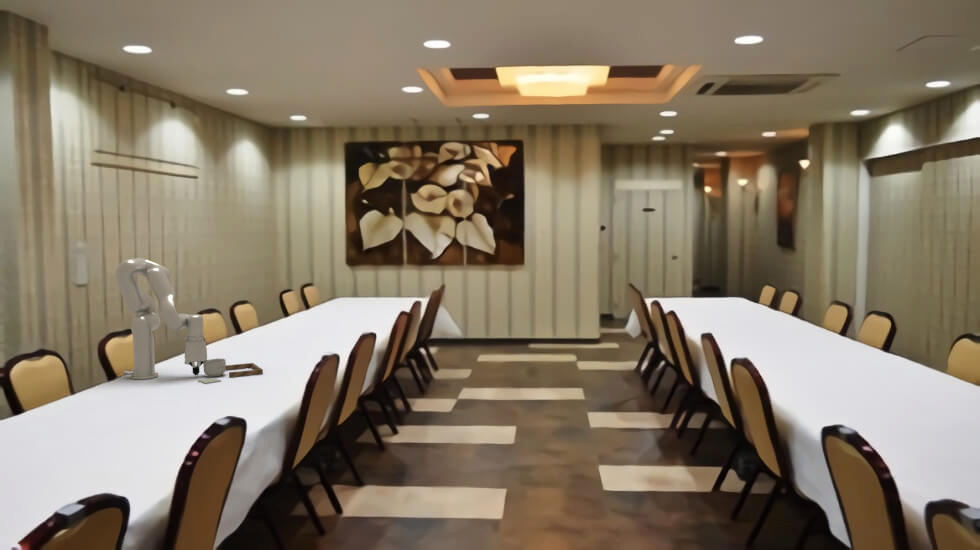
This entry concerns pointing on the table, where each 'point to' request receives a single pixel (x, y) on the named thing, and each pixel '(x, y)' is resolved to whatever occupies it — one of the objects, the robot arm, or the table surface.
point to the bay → (255, 371)
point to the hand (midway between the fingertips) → (196, 374)
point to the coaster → (209, 381)
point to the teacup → (214, 367)
